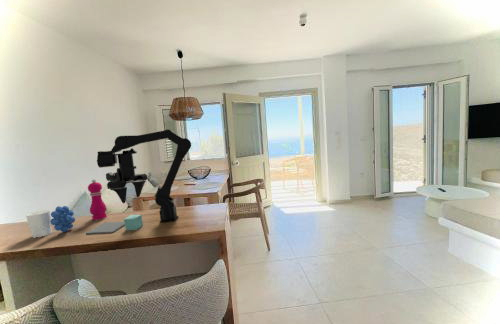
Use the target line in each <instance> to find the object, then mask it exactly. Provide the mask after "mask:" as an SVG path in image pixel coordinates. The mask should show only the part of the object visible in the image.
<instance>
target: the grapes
mask: <svg viewBox="0 0 500 324" xmlns="http://www.w3.org/2000/svg"><path fill="white" fill-rule="evenodd" d="M50 216H51V221H50V223H51V225H53V228H54V231H58V232H59V231H60V232H61V233H66V232H68V230H71V229H73V227H74V224H73V223H74V222H76V217H74V210H71V209H70V208H69V207H68V206H66V205H63V206H60V205H59V206H56V207H55V210H53V211H52V212H50Z"/></svg>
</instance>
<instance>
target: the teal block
mask: <svg viewBox="0 0 500 324" xmlns="http://www.w3.org/2000/svg"><path fill="white" fill-rule="evenodd" d="M123 220H124V221H123V222H125V226H124V228H125V231H136V230H137V231H138V230H139V229H140V228H141V227H143V226H144V225H143V216H142V214H131V215H128V216H127V217H125V218H124V219H123Z"/></svg>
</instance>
